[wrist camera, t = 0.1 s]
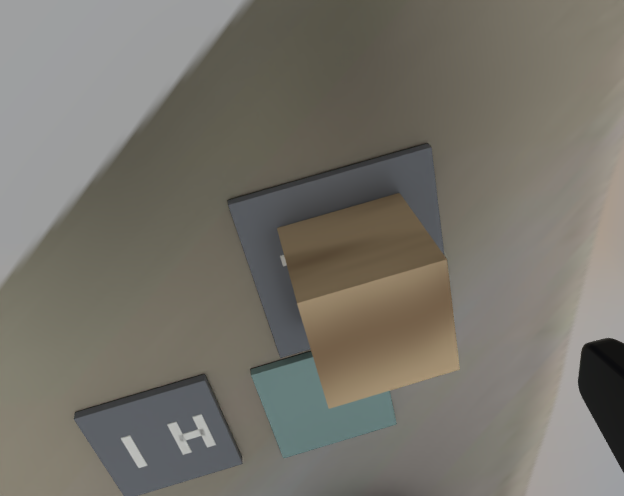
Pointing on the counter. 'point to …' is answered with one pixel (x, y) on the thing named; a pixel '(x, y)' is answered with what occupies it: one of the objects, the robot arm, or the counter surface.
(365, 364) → the oak block
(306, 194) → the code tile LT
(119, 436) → the code tile
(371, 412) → the rubber mat
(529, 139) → the counter surface
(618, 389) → the robot arm
